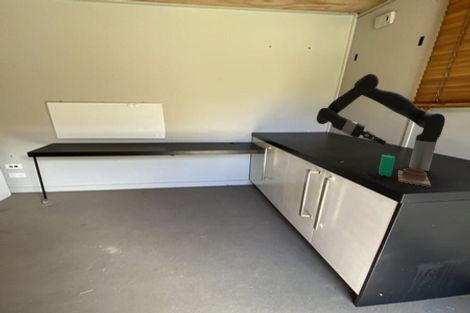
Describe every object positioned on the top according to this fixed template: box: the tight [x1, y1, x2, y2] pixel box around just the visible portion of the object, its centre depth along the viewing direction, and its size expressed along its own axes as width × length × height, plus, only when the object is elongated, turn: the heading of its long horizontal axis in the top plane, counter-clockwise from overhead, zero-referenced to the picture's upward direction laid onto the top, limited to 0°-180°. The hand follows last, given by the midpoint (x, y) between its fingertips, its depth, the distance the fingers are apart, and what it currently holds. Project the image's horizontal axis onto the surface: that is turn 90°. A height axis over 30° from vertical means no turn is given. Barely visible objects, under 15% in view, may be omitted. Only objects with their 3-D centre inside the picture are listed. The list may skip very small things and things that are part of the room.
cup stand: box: [397, 167, 432, 188], centre depth 106 cm, size 18×12×4 cm, turn 142°
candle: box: [378, 154, 396, 177], centre depth 112 cm, size 6×6×12 cm
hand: (383, 142), depth 106 cm, fingers open, 8 cm apart
